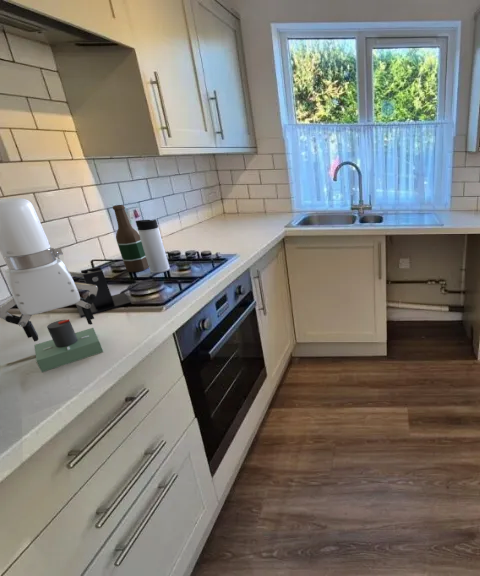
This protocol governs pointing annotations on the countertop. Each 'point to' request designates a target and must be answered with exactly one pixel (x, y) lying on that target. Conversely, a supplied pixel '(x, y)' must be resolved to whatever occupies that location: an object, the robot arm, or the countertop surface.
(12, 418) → the countertop surface
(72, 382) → the countertop surface
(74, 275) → the toaster lever
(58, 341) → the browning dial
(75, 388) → the countertop surface
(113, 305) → the bracket
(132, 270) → the beer bottle
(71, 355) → the dial block
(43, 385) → the countertop surface
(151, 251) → the travel mug
